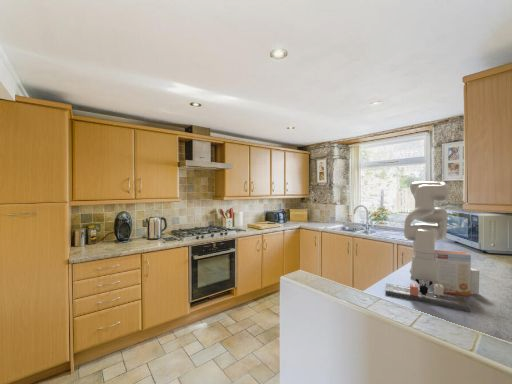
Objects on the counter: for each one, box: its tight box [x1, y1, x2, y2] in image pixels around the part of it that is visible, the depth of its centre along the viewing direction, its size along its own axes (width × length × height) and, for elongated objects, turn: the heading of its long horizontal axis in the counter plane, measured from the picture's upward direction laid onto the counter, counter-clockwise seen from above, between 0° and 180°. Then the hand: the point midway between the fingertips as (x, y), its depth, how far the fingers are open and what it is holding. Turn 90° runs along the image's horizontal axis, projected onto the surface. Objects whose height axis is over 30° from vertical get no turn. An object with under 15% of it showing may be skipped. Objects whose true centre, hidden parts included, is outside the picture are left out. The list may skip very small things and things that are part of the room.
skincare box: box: [470, 267, 480, 295], centre depth 124 cm, size 6×4×12 cm
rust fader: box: [409, 283, 419, 296], centre depth 114 cm, size 4×3×4 cm
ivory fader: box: [433, 284, 444, 296], centre depth 115 cm, size 4×3×4 cm
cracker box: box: [432, 249, 472, 297], centre depth 122 cm, size 14×6×21 cm, turn 71°
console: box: [385, 283, 471, 313], centre depth 115 cm, size 11×32×2 cm, turn 60°
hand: (423, 294), depth 112 cm, fingers closed
